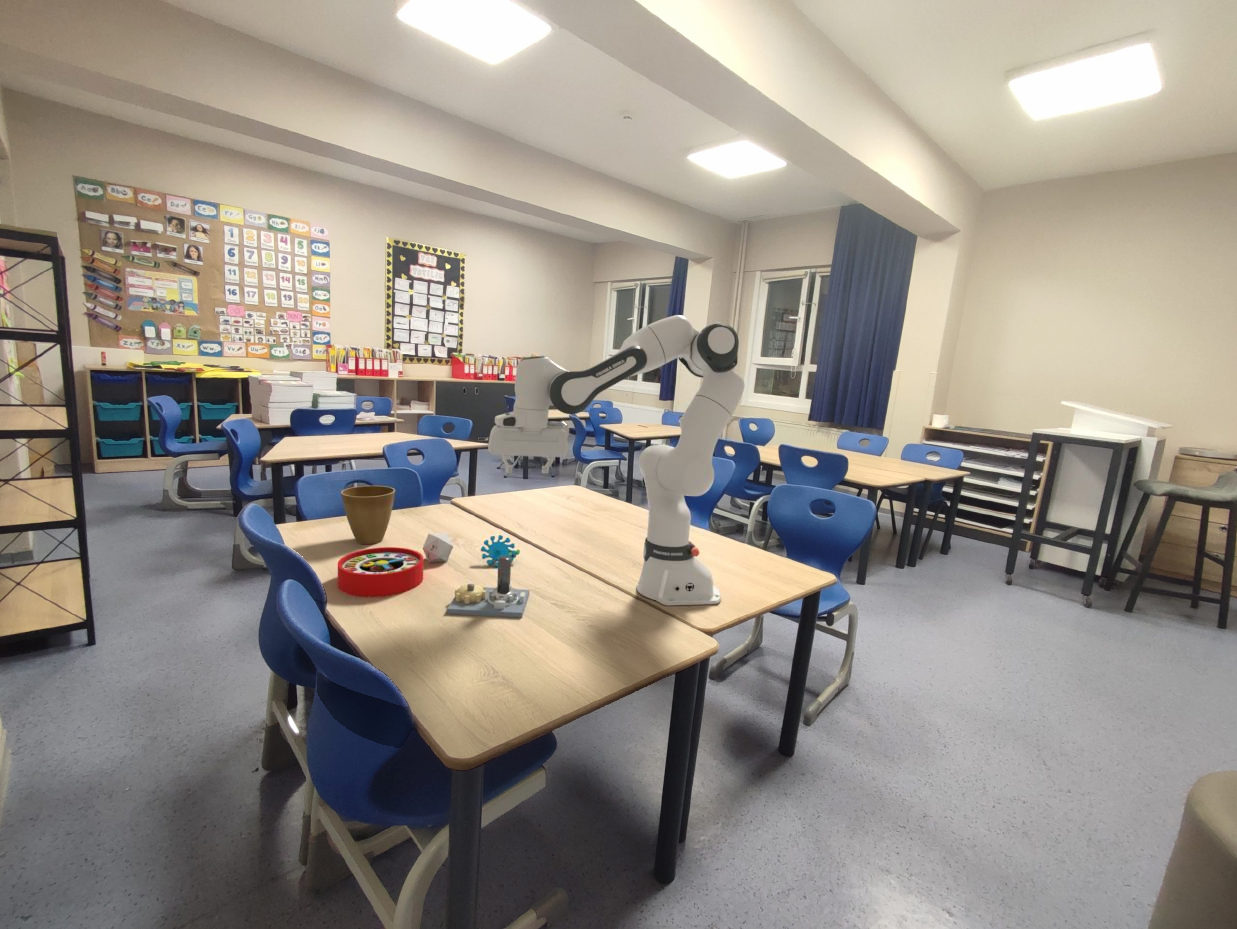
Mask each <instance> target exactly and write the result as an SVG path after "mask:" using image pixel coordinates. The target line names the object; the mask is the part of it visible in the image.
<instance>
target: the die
mask: <svg viewBox="0 0 1237 929" xmlns="http://www.w3.org/2000/svg"><path fill="white" fill-rule="evenodd" d="M453 548H454V545H453V543H452V541H451V538H450V536H449V533H448V532H438V533H437V532H435V533H431V532H430V533H428V534H427V537H426V539H425V541H424V544H423V547H422V550H423V553H424V555H425V558H426V560H427V563H444V562H445V563H447V562H448V560H449V559H450V555H451V553H452V550H453Z"/></svg>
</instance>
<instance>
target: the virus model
mask: <svg viewBox="0 0 1237 929" xmlns="http://www.w3.org/2000/svg"><path fill="white" fill-rule="evenodd" d="M497 538H498V539H497V540H496V541H495V539H496V536H495V535H492V536H490V538H489V539H490V541H491V544H489V540H488V539H485V540H484V541H483V544H484V545H485V546H481V548H480V552H483V553H482V554H481V558H482V560H486V559H487V558H490V559H487V560H486V564H487V565H488V566H490V565H491V564H492V563H493V562H494V564H493V567H495V568H497V569H498V558H499V557H501V556H509V557H511V563H512V562H513V561H514V559H516V557H517V555H519V554H520V552H521V550H520V549H517V550H516V549H515V543H514V542H512V543H510V542H511V539H510V538H509V537H506V538H505V540H503V538H504V535H502V534H499V535H498V536H497ZM502 540H503V541H502ZM508 543H510V544H508ZM486 547H488V549H487V548H486ZM513 549H515V550H513ZM484 552H485V553H484ZM486 553H487V554H486ZM495 561H496V562H495Z"/></svg>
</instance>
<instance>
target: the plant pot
mask: <svg viewBox="0 0 1237 929" xmlns="http://www.w3.org/2000/svg"><path fill="white" fill-rule="evenodd" d="M340 493H341V494H340V495H341V499H342V504H343V508H344V512H345V515H346V518H347V522H348V525H349V527H350V531H351V532H352V535H353V537H354V538H355V541H356V543H358V544H359V545H361V544H362V545H372V544H377V543H378V544H379V543H381V542H382V541H383V540H384V538H385V536H386V532H387V529H388V526H389V523H390V519H391V515H392V510H393V507H394V501H395V493H396V489H395V488H393V487H390V486H385V485H361V486H354V487H352V486H351V487H349V488H345V489H343V490H341V492H340Z"/></svg>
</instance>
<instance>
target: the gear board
mask: <svg viewBox="0 0 1237 929" xmlns="http://www.w3.org/2000/svg"><path fill="white" fill-rule="evenodd" d="M494 588H495V587H487V586H486V587H485V586H484V585H478V584H475V583H468V584H466V585H465V584H463V585H460V586H459V588H455V590H454V597H453V599H452V600H451V603H449V604H448V607H447V610H446V613H447V614H450V615H464V616H465V615H466V616H483V617H502V618H504V617H505V618H519V619H521V618H523V616H524V611H525V608H526V605H527V603H528V600H529V596H530V592H531V591H530V589H523V588H515V589H516V592H518V593H517V600H513V602H512V603H505V601H501V600H495V601H494V602H491V601H490V598H489V591H490V590H494ZM510 588H513V585H512V584H510Z"/></svg>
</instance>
